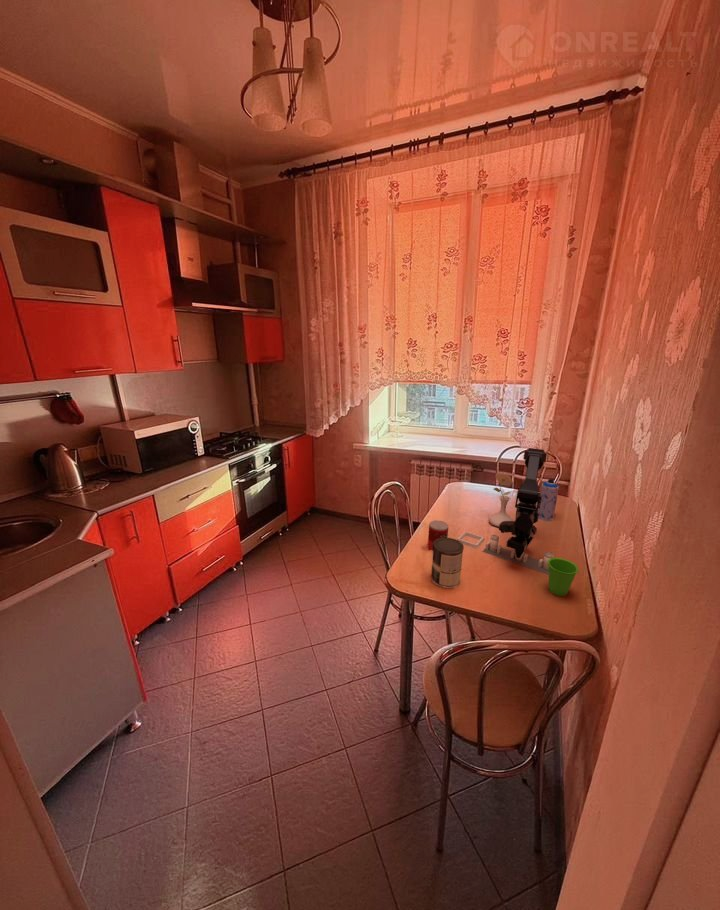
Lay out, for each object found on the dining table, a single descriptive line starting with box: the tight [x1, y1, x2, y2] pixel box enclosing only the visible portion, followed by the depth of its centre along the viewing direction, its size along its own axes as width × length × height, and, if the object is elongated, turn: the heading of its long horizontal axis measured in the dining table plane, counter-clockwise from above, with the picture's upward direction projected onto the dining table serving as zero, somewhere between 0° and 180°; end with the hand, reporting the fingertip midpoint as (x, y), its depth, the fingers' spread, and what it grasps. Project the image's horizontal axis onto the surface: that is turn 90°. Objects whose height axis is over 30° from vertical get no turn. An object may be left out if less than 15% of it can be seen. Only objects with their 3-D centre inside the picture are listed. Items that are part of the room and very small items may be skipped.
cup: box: [548, 557, 579, 597], centre depth 120 cm, size 9×9×11 cm
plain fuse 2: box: [542, 551, 555, 571], centre depth 133 cm, size 3×3×6 cm
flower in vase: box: [488, 471, 515, 528], centre depth 166 cm, size 13×11×25 cm
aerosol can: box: [538, 478, 560, 522], centre depth 174 cm, size 8×8×20 cm
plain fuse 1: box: [489, 534, 500, 552], centre depth 145 cm, size 3×3×6 cm
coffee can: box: [430, 537, 465, 589], centre depth 126 cm, size 10×10×14 cm
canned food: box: [427, 519, 449, 551], centre depth 147 cm, size 8×8×11 cm
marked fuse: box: [515, 551, 525, 561], centre depth 139 cm, size 3×3×6 cm
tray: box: [456, 530, 485, 549], centre depth 152 cm, size 9×9×2 cm
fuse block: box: [481, 541, 549, 576], centre depth 140 cm, size 8×26×3 cm, turn 51°
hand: (519, 555), depth 139 cm, fingers closed on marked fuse, 3 cm apart
